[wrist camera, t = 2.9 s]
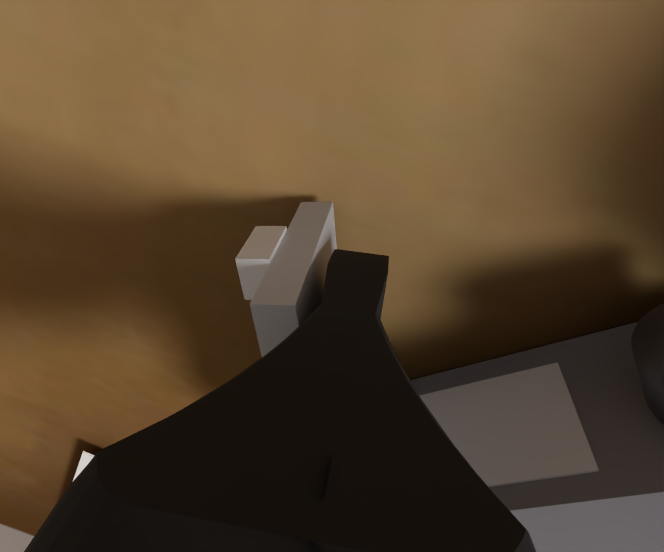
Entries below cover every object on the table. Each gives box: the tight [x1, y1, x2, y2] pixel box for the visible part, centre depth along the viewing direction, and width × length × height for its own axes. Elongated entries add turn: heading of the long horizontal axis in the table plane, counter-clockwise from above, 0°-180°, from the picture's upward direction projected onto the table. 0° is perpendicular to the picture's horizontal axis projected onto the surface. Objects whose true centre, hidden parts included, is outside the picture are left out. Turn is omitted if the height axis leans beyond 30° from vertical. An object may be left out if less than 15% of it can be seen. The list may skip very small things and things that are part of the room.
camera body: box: [410, 303, 664, 552], centre depth 12 cm, size 9×12×5 cm
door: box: [235, 202, 337, 357], centre depth 11 cm, size 8×2×5 cm, turn 5°
